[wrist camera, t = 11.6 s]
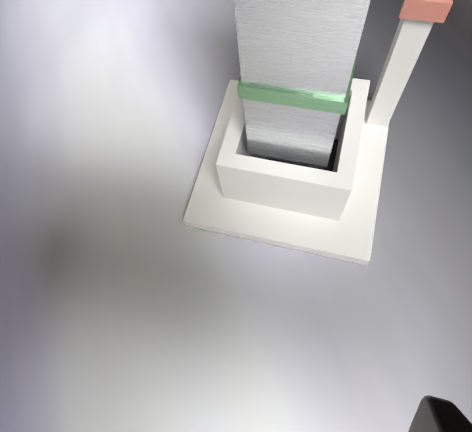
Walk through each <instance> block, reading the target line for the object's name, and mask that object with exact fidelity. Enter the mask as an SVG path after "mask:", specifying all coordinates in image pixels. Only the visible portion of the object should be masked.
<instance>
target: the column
mask: <svg viewBox="0 0 472 432" xmlns="http://www.w3.org/2000/svg"><path fill="white" fill-rule="evenodd" d="M369 4H370V0H234V6H235V17H236V28H237V38H238V49H239V60H240V71H241V76H240V79H239V82H238V85H237V90H238V98H242V99H243V103H244V114H245V125H246V135H247V146H248V153H250V154H256V155H261V156H267V157H272V158H278V159H283V160H289V161H294V162H300V163H305V164H311V165H316V166H322V167H327V165H328V161H329V157H330V153H331V149H332V146H333V142H334V138H335V134H336V130H337V126H338V123H339V119H340V115H341V114H343V115H345V112H346V109H347V105H348V100H349V95H350V90H351V85H352V79H353V74H354V69H355V63H356V58H357V53H358V48H359V42H360V38H361V34H362V30H363V27H364V23H365V19H366V15H367V11H368V7H369Z"/></svg>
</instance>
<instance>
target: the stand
mask: <svg viewBox="0 0 472 432" xmlns="http://www.w3.org/2000/svg"><path fill="white" fill-rule="evenodd" d="M452 3H453V0H404V2H403V5H402V7H401V10H400V14H399V18H401V19H400V22H399V25H398V28H397V31H396V33H395V36H394V39H393V42H392V45H391V47H390V50H389V53H388V56H387V59H386V62H385V64H384V67H383V70H382V73H381V76H380V78H379V81H378V84H377V87H376V90H375V92H374V95H373V98H372V101H371V100H367V97H368V91H369V85H370V80H363V79H356V78H353V79H352V85H351V90H350V95H349V100H348V105H347V109H346V112H345V115H343V114H341V115H340V119H339V123H338V126H337V130H336V134H335V138H334V139H338V146H337V151H336V156H335V161H334V167H333V172H332V171H326V170H321V169H315V168H310V167H305V166H299V165H294V164H288V163H283V162H277V161H272V160H266V159H261V158H255V157H252V155H253V154H250V153H248V146H247V135H246V125H245V114H244V103H243V99H242V98H238V90H237V85H238V82H239V81H237V80H231V79H230V81H229V84H228V87H227V90H226V93H225V96H224V99H223V102H222V105H221V108H220V111H219V114H218V117H217V120H216V123H215V126H214V129H213V132H212V135H211V138H210V141H209V143H208V146H207V149H206V152H205V155H204V158H203V161H202V164H201V167H200V170H199V173H198V176H197V179H196V182H195V185H194V188H193V191H192V194H191V197H190V200H189V203H188V206H187V209H186V212H185V215H184V218H183V222H184V224H185V226H189V227H193V228H198V229H203V230H207V231H212V232H216V233H221V234H225V235H230V236H234V237H239V238H244V239H248V240H253V241H257V242H262V243H266V244H271V245H275V246H280V247H284V248H289V249H294V250H298V251H303V252H307V253H312V254H316V255H321V256H325V257H330V258H334V259H339V260H344V261H348V262H353V263H357V264H362V265H367V264H368V263H369V262H370V257H371V250H372V242H373V235H374V228H375V221H376V213H377V206H378V199H379V192H380V184H381V177H382V170H383V163H384V155H385V148H386V141H387V134H388V126H389V121H390V119H391V116H392V114H393V112H394V110H395V107H396V105H397V103H398V101H399V99H400V96H401V94H402V92H403V90H404V87H405V85H406V83H407V81H408V79H409V76H410V74H411V72H412V70H413V68H414V65H415V63H416V61H417V59H418V56H419V54H420V52H421V50H422V48H423V45H424V43H425V41H426V39H427V36H428V34H429V32H430V30H431V28H432V25H433V23H434V22H440V23H444V20H445V18H446V16H447V14H448V12H449V10H450V8H451V6H452Z"/></svg>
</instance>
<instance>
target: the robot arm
mask: <svg viewBox="0 0 472 432" xmlns="http://www.w3.org/2000/svg"><path fill="white" fill-rule="evenodd" d="M409 432H472V424H471V423H470V421H469V420H468V419H467V418H466V417H465V416H464V415H463V413H462V412H461V411H460V410H459V409H458V408H457V407H456V406H455V405H454V404H453V403H452V402H450V401H448V400H444V399H441V398H437V397H433V396H425V397H424V398H423V399H422V400H421V402H420V404H419V407H418V409H417V412H416V414H415V416H414V419H413V421H412V423H411V426H410V428H409Z"/></svg>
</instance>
